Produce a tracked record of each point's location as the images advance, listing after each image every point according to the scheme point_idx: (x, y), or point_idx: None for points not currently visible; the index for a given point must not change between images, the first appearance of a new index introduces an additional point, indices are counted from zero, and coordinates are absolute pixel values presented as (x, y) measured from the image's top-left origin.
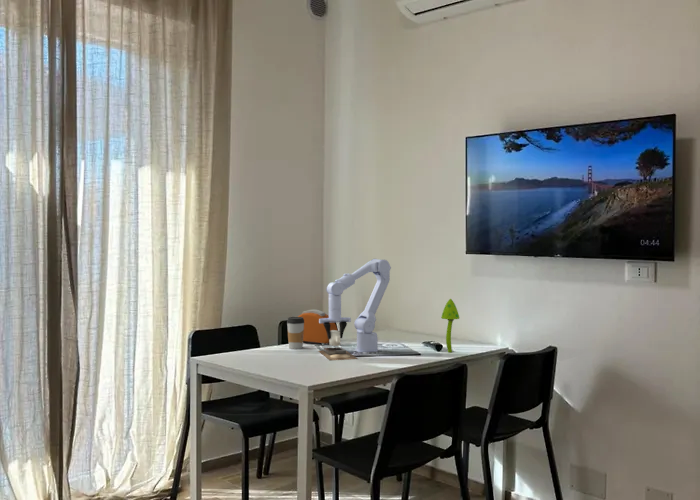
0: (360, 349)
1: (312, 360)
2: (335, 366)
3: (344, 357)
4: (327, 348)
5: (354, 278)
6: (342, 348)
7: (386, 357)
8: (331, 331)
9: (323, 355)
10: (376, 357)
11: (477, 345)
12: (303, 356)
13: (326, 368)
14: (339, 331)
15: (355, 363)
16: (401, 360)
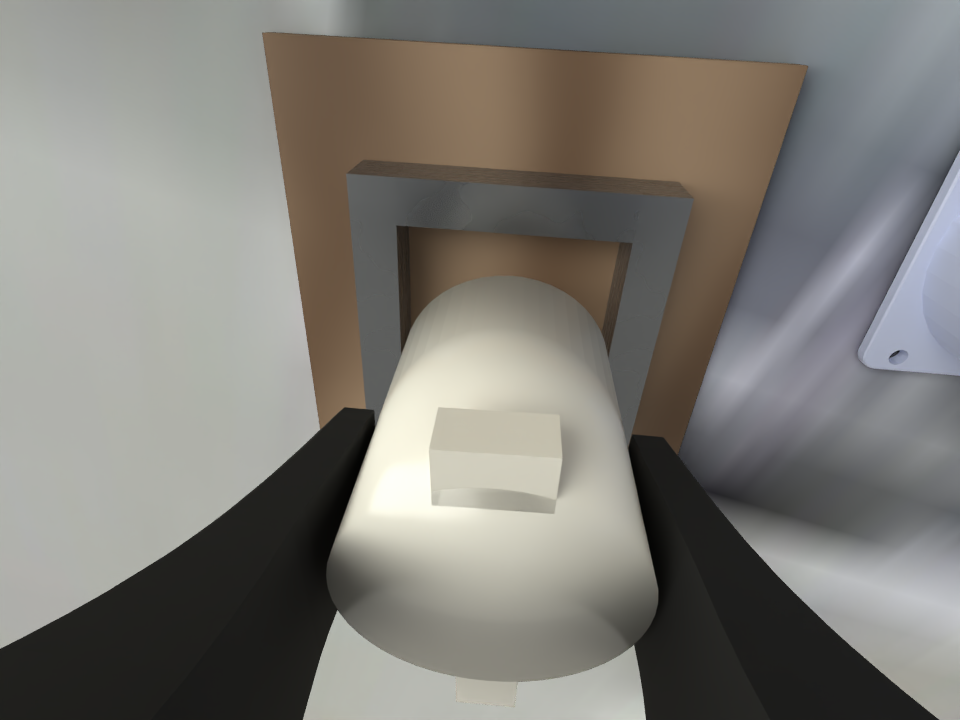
0: (947, 341)
1: (199, 516)
2: (366, 698)
3: None
4: (405, 224)
5: None
6: (652, 312)
7: (945, 615)
8: (380, 588)
9: (319, 418)
10: (856, 589)
11: None
12: (76, 314)
13: None
14: (606, 639)
15: (536, 682)
16: (946, 715)
